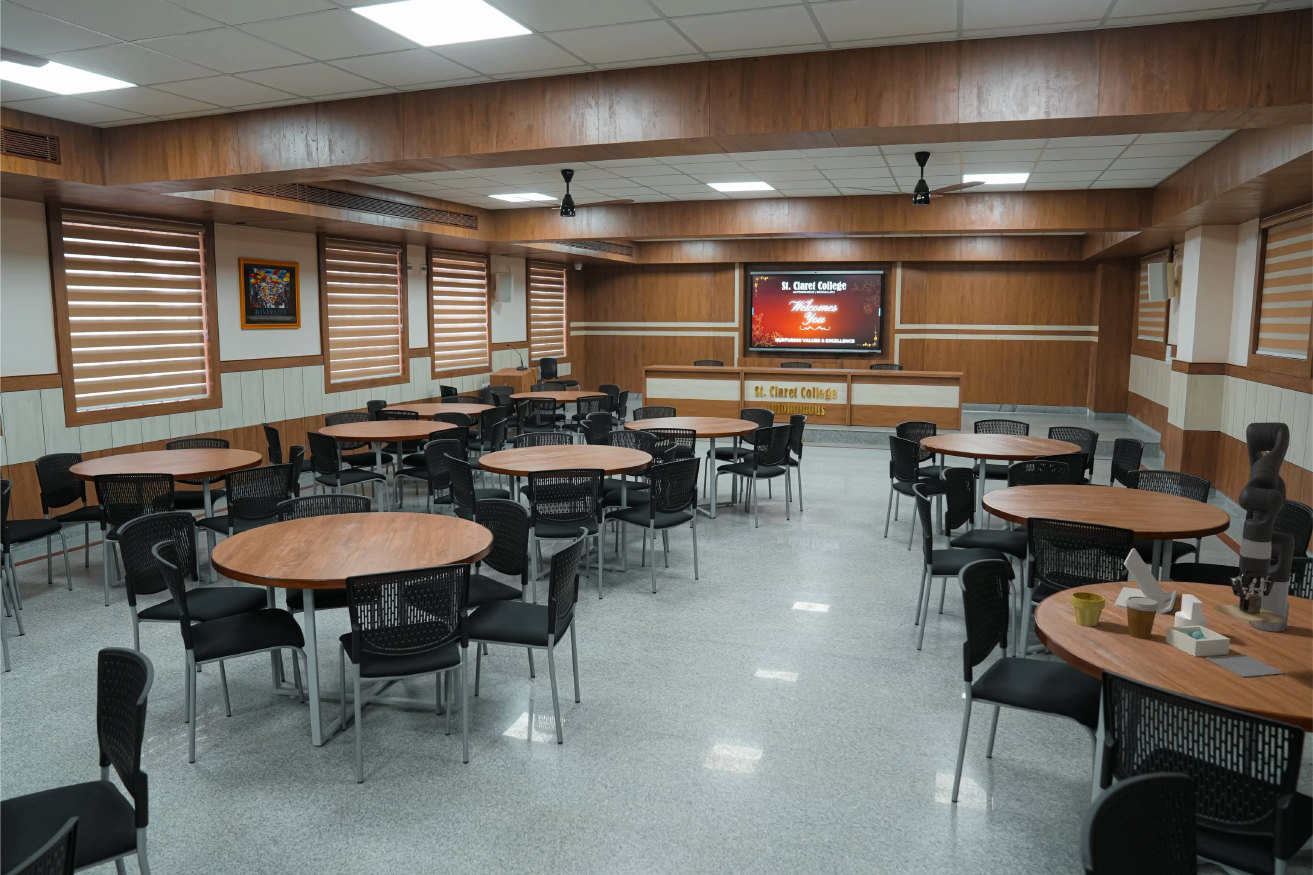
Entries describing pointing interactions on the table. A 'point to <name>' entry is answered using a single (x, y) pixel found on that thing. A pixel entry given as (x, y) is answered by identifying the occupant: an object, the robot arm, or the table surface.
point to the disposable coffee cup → (1140, 616)
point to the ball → (1197, 635)
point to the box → (1197, 641)
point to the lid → (1251, 612)
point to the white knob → (1190, 612)
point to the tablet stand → (1145, 585)
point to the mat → (1244, 665)
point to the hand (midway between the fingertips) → (1249, 609)
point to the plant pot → (1087, 607)
